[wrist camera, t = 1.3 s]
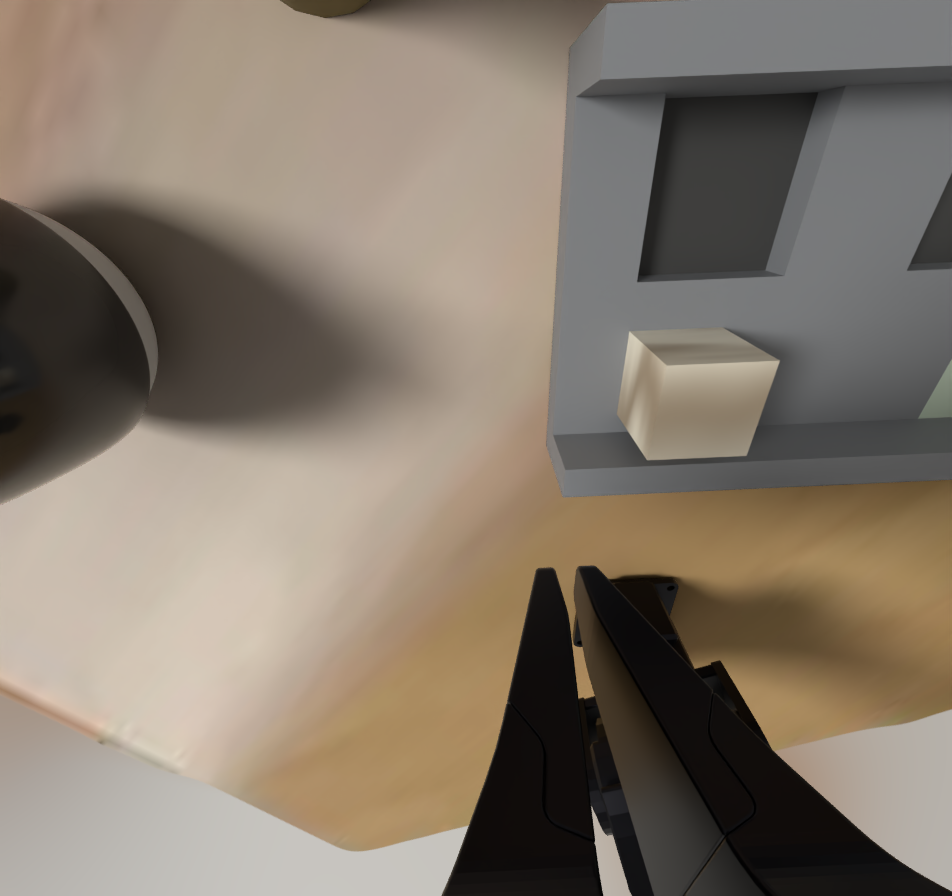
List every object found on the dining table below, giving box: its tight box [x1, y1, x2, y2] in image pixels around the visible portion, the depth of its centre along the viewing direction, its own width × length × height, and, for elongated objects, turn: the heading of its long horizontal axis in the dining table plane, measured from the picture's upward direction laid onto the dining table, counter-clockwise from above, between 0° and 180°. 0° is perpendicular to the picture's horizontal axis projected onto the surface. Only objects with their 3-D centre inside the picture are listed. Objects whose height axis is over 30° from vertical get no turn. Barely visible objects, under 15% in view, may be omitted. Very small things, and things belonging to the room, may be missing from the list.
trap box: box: [546, 0, 952, 497], centre depth 17 cm, size 16×26×4 cm, turn 92°
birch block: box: [617, 327, 780, 460], centre depth 18 cm, size 4×4×4 cm
